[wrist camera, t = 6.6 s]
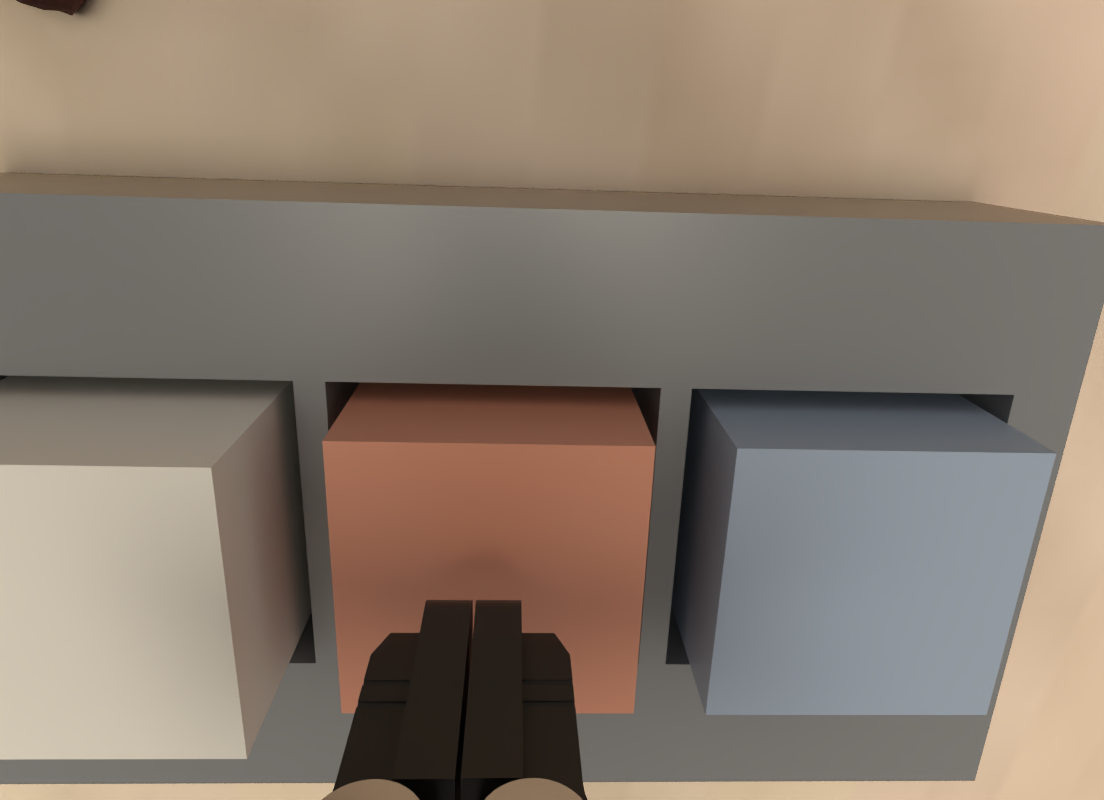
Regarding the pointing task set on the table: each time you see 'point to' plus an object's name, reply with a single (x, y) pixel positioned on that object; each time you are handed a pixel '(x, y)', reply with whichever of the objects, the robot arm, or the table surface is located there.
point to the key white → (146, 564)
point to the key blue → (851, 550)
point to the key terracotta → (493, 519)
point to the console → (554, 378)
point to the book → (55, 5)
